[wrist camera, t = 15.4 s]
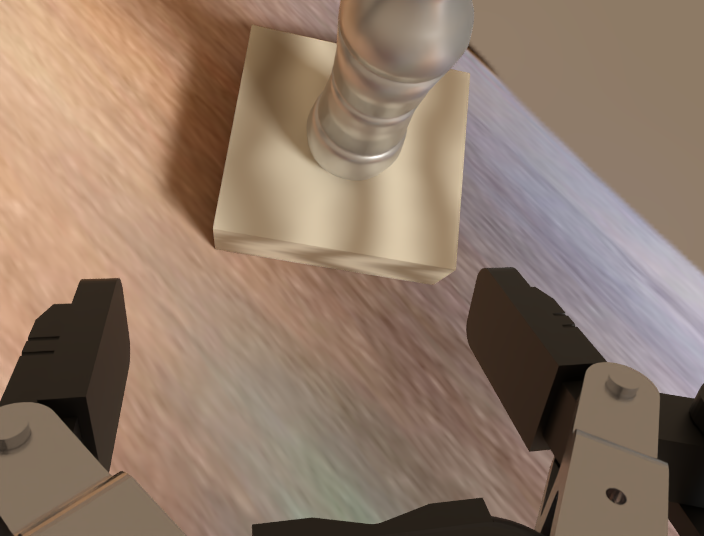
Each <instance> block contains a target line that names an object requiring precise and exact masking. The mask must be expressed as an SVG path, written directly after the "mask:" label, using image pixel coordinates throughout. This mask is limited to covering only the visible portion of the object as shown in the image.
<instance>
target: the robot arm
mask: <svg viewBox="0 0 704 536" xmlns="http://www.w3.org/2000/svg"><path fill="white" fill-rule="evenodd" d="M466 331H467V339H468V343H469V346H470V348H471V350H472V352H473V353H474V355H475V357H476V359H477V360H478V362H479V364H480V366H481V367H482V369H483V371H484V373H485V374H486V376H487V378H488V380H489V382H490V383H491V385H492V387H493V389H494V390H495V392H496V394H497V396H498V397H499V399H500V401H501V403H502V404H503V406H504V408H505V410H506V411H507V413H508V415H509V417H510V418H511V420H512V422H513V424H514V426H515V427H516V429H517V431H518V433H519V434H520V436H521V438H522V440H523V441H524V443H525V445H526V447H527V448H528V450H529V452H530V451H540V450H550V449H551V451H552V452H553V454H554V458H553V461H552V463H551V466H550V469H549V473H548V478H547V482H546V486H545V490H544V494H543V498H542V502H541V506H540V510H539V514H538V518H537V522H536V526H535V530H533V529H531V528H529V527H527V526H524V525H522V524H519V523H516V522H513V521H511V520H507V519H503V518H498V517H493V516H491V515H490V513H489V511H488V509H487V506H486V504H485V502H484V500H483V498H476V499H467V500H459V501H450V502H441V503H433V504H428V505H425V506H423V507H420V508H418V509H415V510H413V511H410V512H407V513H405V514H402V515H400V516H397V517H395V518H392V519H390V520H387V521H384V522H382V523H379V524H364V523H355V522H346V521H338V520H329V519H320V518H305V519H296V520H288V521H279V522H270V523H262V524H253V525H252V536H668V519H669V520H670V522H671V523H672V525H673V526H674V528H675V529H676V531H677V532H678V534H679V535H680V536H704V384H703V385H702V386H701V387H700V389H699V391H698V393H697V395H696V397H695V399H693V398H687V397H681V396H675V395H669V394H663V393H659V392H658V389H657V388H656V386H655V385H654V384H653V383H652V382H651V381H650V380H649V379H648V378H647V377H646V376H644V375H643V374H641V373H640V372H638V371H636V370H634V369H632V368H630V367H627V366H625V365H621V364H617V363H610V362H607V361H606V360H605V359H604V358H603V357H602V355H601V354H600V353H599V352H598V351H597V349H596V348H595V347H594V346H593V345H592V344H591V342H590V341H589V340H588V339H587V338H586V336H585V335H584V334H583V333H582V332H581V331H580V329H579V328H578V327H575V324H574V322H573V321H572V320H571V319H570V318H569V316H566V315H565V312H564V311H563V309H562V308H561V307H560V306H559V305H558V303H557V302H556V301H555V300H554V299H553V298H551V297H550V296H548V295H547V294H545V293H544V292H542V291H541V290H539V289H538V288H536V287H530V285H529V284H528V283H527V282H526V280H525V279H524V278H523V277H522V276H521V274H520V273H519V272H518V271H517V270H516V269H515V268H513V267H505V268H483V269H481V270H480V272H479V273H478V276H477V280H476V284H475V288H474V293H473V297H472V302H471V306H470V310H469V315H468V319H467V326H466ZM129 363H130V339H129V331H128V324H127V317H126V310H125V303H124V295H123V288H122V283H121V280H120V279H119V278H110V279H82V280H81V281H80V282H79V285H78V288H77V290H76V293H75V296H74V299H73V301H72V304H53V305H52V306H51V307H50V308H49V309H48V310H47V311H45V312H44V313H43V314H42V315H41V316H40V317H39V318H37V319H36V320H35V323H34V325H33V327H32V330H31V332H30V334H29V337H28V341H26V343H25V346H24V348H23V350H22V356H20V357H19V360H18V362H17V364H16V366H15V369H14V371H13V373H12V376H11V378H10V380H9V383H8V385H7V387H6V390H5V392H4V394H3V396H2V399H1V401H0V536H186V535H185V533H184V532H183V531H182V530H181V529H180V528H179V527H178V526H177V525H176V524H175V523H174V522H173V520H172V519H171V518H170V517H169V516H168V515H167V514H166V513H165V512H164V511H163V510H162V509H161V507H160V506H159V505H158V504H157V503H156V502H155V501H154V500H153V499H152V498H151V497H150V496H149V495H148V493H147V492H146V491H145V490H144V489H143V488H142V487H141V486H140V485H139V484H138V483H137V482H136V480H135V479H134V478H133V477H132V476H130V475H129V474H128V473H126V472H123V471H120V472H119V473H117V474H115V475H114V476H112V475H110V474H109V470H110V465H111V459H112V454H113V449H114V443H115V438H116V433H117V428H118V422H119V417H120V412H121V407H122V401H123V396H124V391H125V385H126V380H127V375H128V370H129Z"/></svg>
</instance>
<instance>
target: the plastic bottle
mask: <svg viewBox="0 0 704 536" xmlns="http://www.w3.org/2000/svg"><path fill="white" fill-rule="evenodd" d="M473 22H474V9H473V4H472V0H341V2H340V7H339V16H338V33H337V48H336V53H335V58H334V64H333V68H332V72H331V75H330V77H329V79H328V81H327V84H326V86H325V88H324V90H323V91H322V93H321V94H320V95H319V97H318V98H317V100H316V101H315V103H314V105H313V107H312V108H311V110H310V113H309V115H308V118H307V139H308V145H309V148H310V151H311V153H312V155H313V157H314V159H315V160H316V161H317V162H318V164H319V165H320V166H321V167H322V168H324V169H325V170H326V171H327V172H329V173H331V174H333V175H334V176H337V177H340V178H342V179H347V180H365V179H370V178H372V177H375V176H377V175H379V174H380V173H381V172H383V171H384V170H386V169H387V168H388V167H389V166H391V165H392V164H393V163H394V161H395V160H396V159H397V158H398V156H399V154H400V152H401V150H402V147H403V144H404V141H405V137H406V133H407V128H408V125H409V123H410V121H411V118H412V116H413V114H414V111H415V110H416V108H417V107H418V105H419V104H420V103H421V102H422V100H423V99H424V97H425V96H426V95H427V93H428V92H429V90H430V89H431V88H432V87H433V86H434V85H435V84H436V83H437V82H438V81H439V80H440V79H441V78H442V77H443V76H444V75H445V74H446V73H447V72H448V71H449V70H450V69H451V68H452V67H453V66H454V65H455V64H456V63H457V61H458V60H459V59H460V57H461V56H462V55H463V54H464V52H465V50H466V48H467V47H468V45H469V41H470V38H471V33H472V28H473Z"/></svg>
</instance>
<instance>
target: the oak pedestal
mask: <svg viewBox="0 0 704 536" xmlns="http://www.w3.org/2000/svg"><path fill="white" fill-rule="evenodd" d="M336 48H337V44H336V43H332V42H327V41H323V40H318V39H314V38H310V37H305V36H301V35H296V34H292V33H287V32H283V31H278V30H274V29H269V28H265V27H260V26H256V25H252V26H251V32H250V37H249V42H248V47H247V53H246V58H245V63H244V68H243V73H242V79H241V84H240V89H239V94H238V100H237V105H236V110H235V115H234V120H233V126H232V131H231V136H230V141H229V147H228V152H227V157H226V162H225V168H224V173H223V178H222V183H221V188H220V194H219V199H218V204H217V209H216V215H215V220H214V225H213V234H214V243H215V249H217V250H223V251H229V252H235V253H241V254H247V255H254V256H260V257H266V258H272V259H278V260H284V261H290V262H296V263H302V264H308V265H315V266H321V267H327V268H333V269H339V270H345V271H351V272H357V273H363V274H369V275H375V276H382V277H388V278H394V279H400V280H406V281H412V282H418V283H424V284H430V285H434V284H435V283H437V282H438V281H440V280H441V279H443V278H444V277H446V276H447V275H449V274H450V273H452V272H453V271H455V270H456V260H457V246H458V232H459V218H460V205H461V191H462V177H463V163H464V149H465V136H466V122H467V108H468V94H469V80H470V73H466V72H462V71H457V70H453V69H450V70H449V71H448V72H447V73H446V74H445V75H444V76H443V77H442V78H441V79H440V80H439V81H438V82H437V83H436V84H435V85H434V86H433V87H432V88H431V89H430V90H429V92H428V93H427V95H426V96H425V97H424V99H423V100H422V102H421V103H420V104H419V105H418V107H417V108H416V110H415V111H414V114H413V116H412V118H411V121H410V123H409V125H408V128H407V133H406V137H405V141H404V144H403V147H402V150H401V152H400V154H399V156H398V158H397V159H396V160H395V161H394V163H393V164H392V165H391V166H389V167H388V168H387V169H386V170H384V171H383V172H381V173H380V174H379V175H377V176H375V177H372V178H370V179H365V180H347V179H342V178H340V177H337V176H334V175H333V174H331V173H329V172H327V171H326V170H325V169H324V168H322V167H321V166H320V165H319V164H318V162H317V161H316V160H315V159H314V157H313V155H312V153H311V151H310V148H309V145H308V139H307V118H308V115H309V113H310V110H311V108H312V107H313V105H314V103H315V101H316V100H317V98H318V97H319V95H320V94H321V93H322V91H323V90H324V88H325V86H326V84H327V81H328V79H329V77H330V75H331V72H332V68H333V64H334V58H335V53H336Z"/></svg>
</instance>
